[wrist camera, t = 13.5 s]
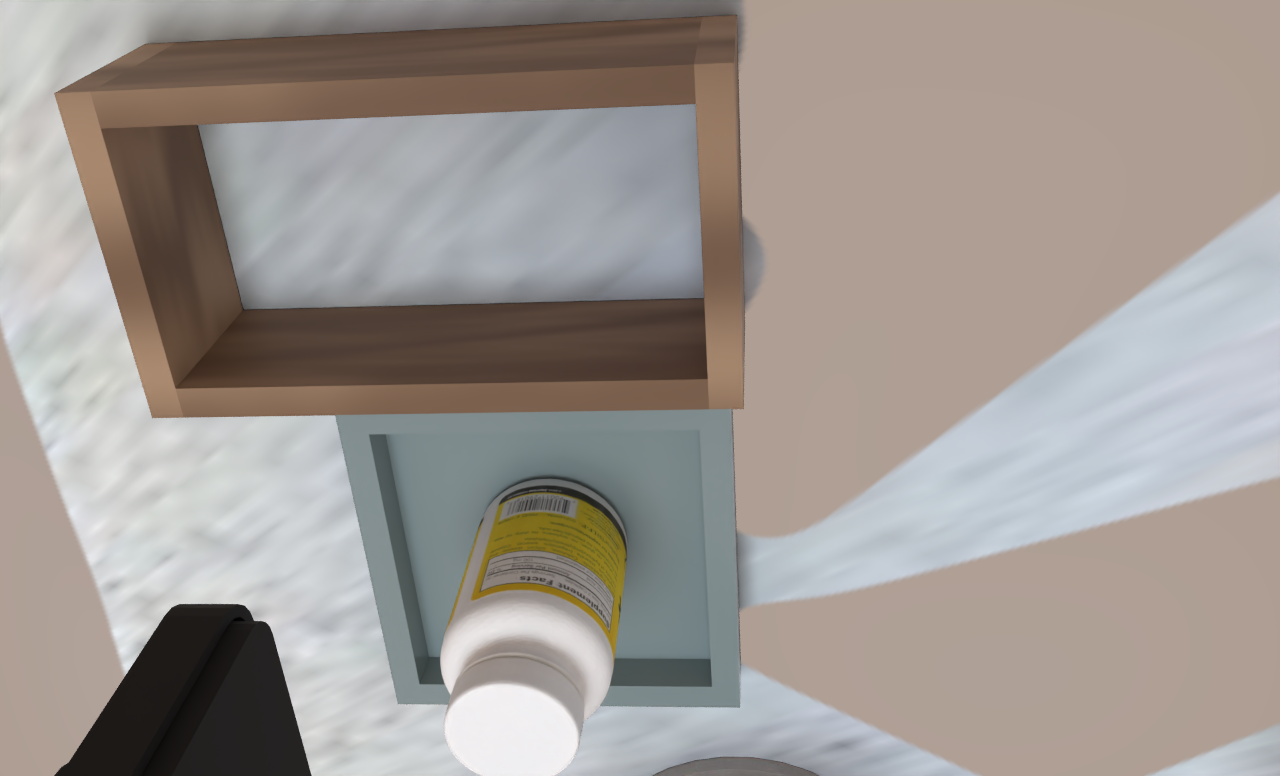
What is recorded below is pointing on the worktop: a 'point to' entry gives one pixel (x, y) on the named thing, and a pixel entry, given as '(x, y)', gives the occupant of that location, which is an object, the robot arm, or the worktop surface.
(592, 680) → the supplement bottle
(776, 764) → the mate gourd
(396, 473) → the tray
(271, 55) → the holder
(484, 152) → the worktop surface
